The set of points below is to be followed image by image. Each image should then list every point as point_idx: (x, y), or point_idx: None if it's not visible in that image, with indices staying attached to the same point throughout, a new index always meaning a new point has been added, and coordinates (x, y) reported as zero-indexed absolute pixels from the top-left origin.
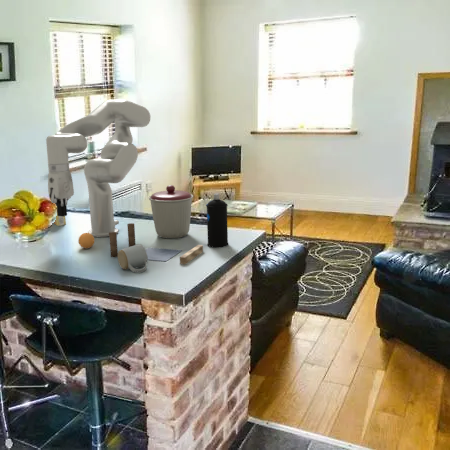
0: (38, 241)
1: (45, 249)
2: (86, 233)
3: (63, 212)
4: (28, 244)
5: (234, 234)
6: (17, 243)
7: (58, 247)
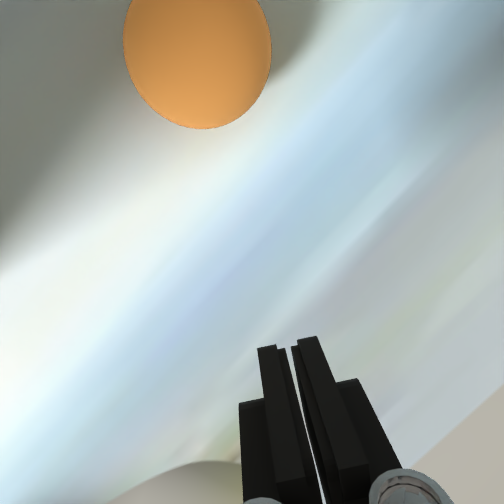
0: None
1: (350, 295)
2: (201, 25)
3: (333, 380)
4: None
5: None
6: None
7: (284, 263)
